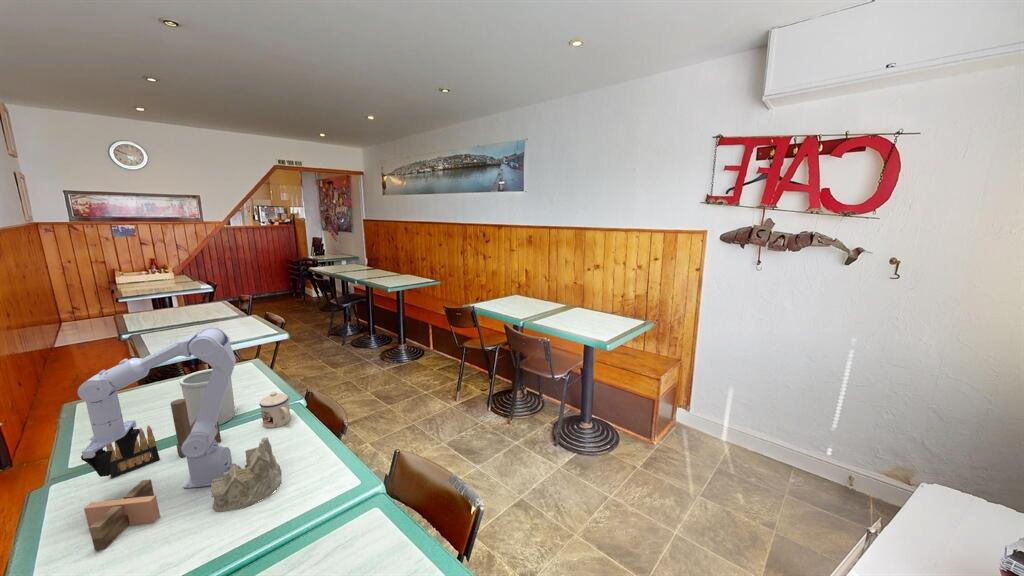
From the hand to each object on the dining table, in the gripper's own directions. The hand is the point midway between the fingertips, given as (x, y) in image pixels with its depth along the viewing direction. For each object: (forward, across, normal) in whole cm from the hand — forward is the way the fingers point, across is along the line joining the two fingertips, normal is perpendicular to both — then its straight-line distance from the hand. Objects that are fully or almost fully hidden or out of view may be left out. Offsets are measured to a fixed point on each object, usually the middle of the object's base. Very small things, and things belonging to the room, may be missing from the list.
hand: (117, 466), depth 104 cm
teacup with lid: (+10, -33, +27) cm, 44 cm away
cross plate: (+9, +10, +7) cm, 16 cm away
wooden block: (+10, -22, +7) cm, 25 cm away
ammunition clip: (+10, -14, -6) cm, 18 cm away
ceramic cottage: (+10, +2, +32) cm, 34 cm away
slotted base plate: (+9, +10, +8) cm, 16 cm away
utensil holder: (+10, -41, +1) cm, 42 cm away
